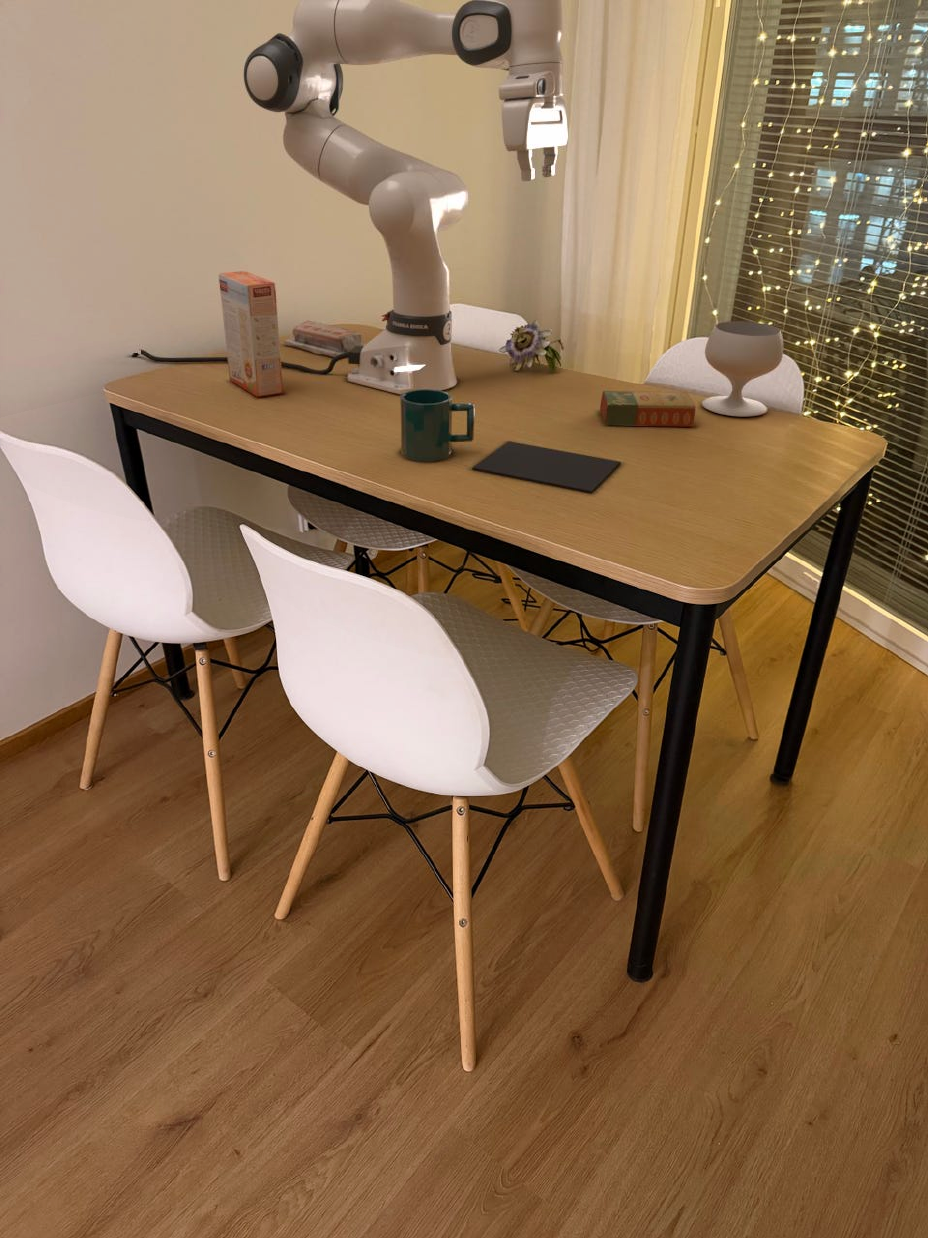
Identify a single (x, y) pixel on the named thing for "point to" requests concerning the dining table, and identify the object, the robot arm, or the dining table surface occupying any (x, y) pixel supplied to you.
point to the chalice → (742, 362)
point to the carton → (647, 408)
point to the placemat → (548, 466)
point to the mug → (430, 424)
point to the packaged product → (324, 339)
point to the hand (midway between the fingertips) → (538, 178)
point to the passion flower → (531, 347)
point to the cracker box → (251, 332)
